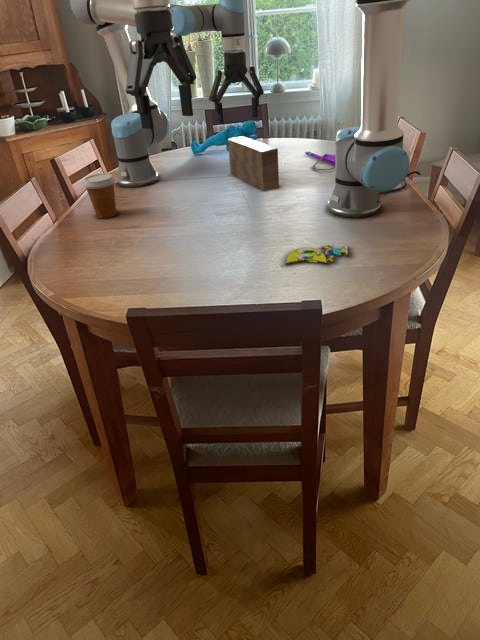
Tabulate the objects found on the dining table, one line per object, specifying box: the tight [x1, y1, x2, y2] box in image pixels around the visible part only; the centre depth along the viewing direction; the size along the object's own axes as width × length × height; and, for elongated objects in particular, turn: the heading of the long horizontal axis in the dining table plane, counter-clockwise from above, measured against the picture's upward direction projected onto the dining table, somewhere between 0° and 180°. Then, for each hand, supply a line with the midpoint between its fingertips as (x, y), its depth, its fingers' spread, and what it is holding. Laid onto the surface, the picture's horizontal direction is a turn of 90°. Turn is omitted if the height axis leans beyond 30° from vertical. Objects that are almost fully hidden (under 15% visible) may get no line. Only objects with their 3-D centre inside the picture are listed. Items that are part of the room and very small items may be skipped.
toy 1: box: [189, 120, 258, 155], centre depth 209 cm, size 17×11×30 cm
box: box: [228, 136, 280, 192], centre depth 170 cm, size 25×6×13 cm, turn 27°
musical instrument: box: [304, 151, 336, 171], centre depth 185 cm, size 24×2×20 cm
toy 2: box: [285, 244, 349, 266], centre depth 118 cm, size 10×1×15 cm
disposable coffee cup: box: [83, 172, 117, 219], centre depth 152 cm, size 10×10×12 cm
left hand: (238, 120), depth 170 cm, fingers open, 13 cm apart
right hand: (168, 121), depth 108 cm, fingers open, 13 cm apart
